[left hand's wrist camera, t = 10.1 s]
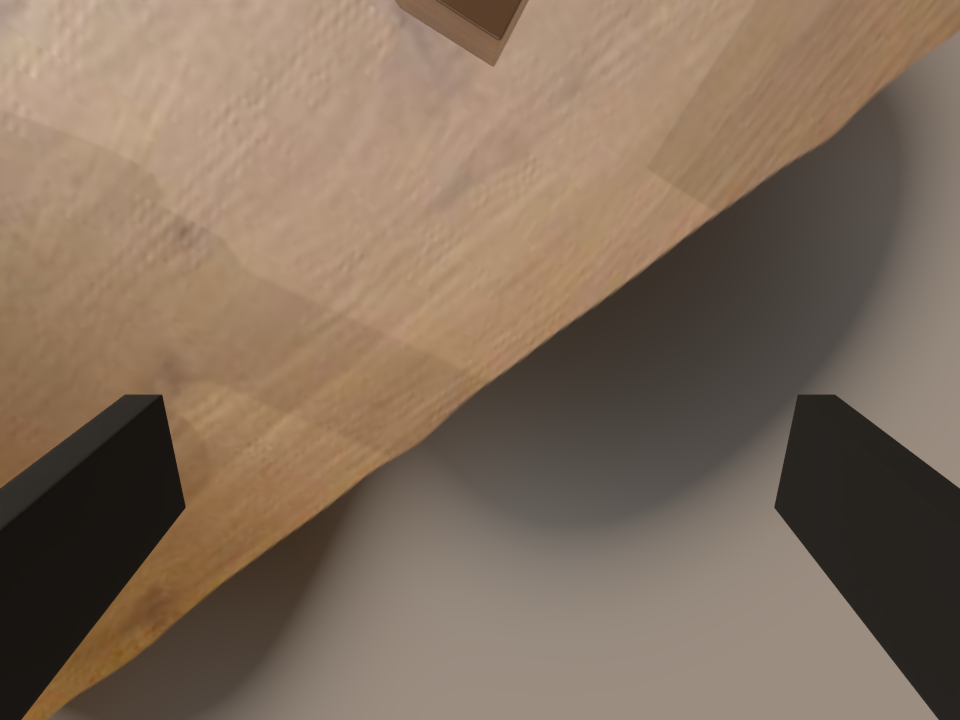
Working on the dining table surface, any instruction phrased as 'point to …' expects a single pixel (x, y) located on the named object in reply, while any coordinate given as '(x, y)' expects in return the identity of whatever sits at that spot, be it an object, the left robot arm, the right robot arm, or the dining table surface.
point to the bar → (470, 22)
